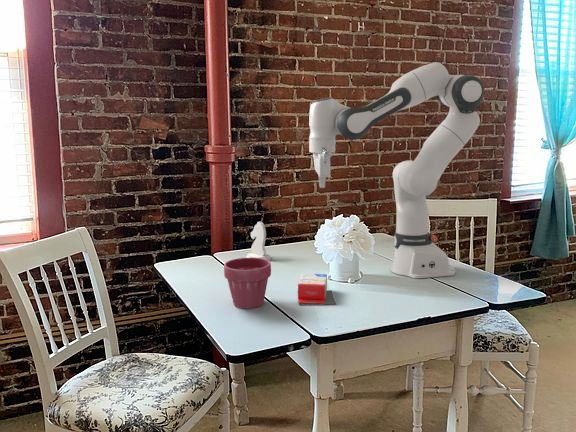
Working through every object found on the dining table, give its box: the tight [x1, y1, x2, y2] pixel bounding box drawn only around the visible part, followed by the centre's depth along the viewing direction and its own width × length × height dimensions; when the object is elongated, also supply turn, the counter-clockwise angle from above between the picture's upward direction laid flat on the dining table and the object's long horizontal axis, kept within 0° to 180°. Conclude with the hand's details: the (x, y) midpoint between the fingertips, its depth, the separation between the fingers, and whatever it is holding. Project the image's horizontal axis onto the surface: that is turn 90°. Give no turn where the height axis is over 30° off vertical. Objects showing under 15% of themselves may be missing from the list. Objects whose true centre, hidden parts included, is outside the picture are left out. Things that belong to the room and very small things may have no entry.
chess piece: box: [245, 221, 272, 261], centre depth 221 cm, size 10×10×15 cm
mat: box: [298, 289, 337, 306], centre depth 178 cm, size 11×12×1 cm
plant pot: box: [223, 257, 272, 309], centre depth 173 cm, size 14×14×13 cm
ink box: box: [297, 273, 328, 304], centre depth 179 cm, size 8×5×15 cm
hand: (322, 187), depth 196 cm, fingers closed
